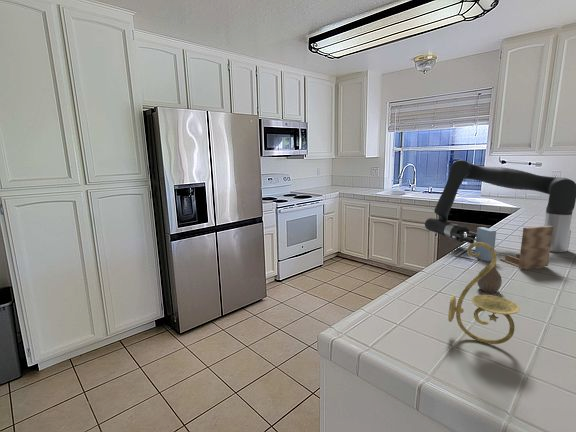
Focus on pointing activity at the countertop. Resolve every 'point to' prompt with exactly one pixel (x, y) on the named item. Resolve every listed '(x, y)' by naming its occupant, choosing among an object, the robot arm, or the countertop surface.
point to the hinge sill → (533, 248)
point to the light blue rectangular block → (485, 237)
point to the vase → (490, 281)
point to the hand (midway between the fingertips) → (481, 241)
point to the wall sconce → (484, 302)
